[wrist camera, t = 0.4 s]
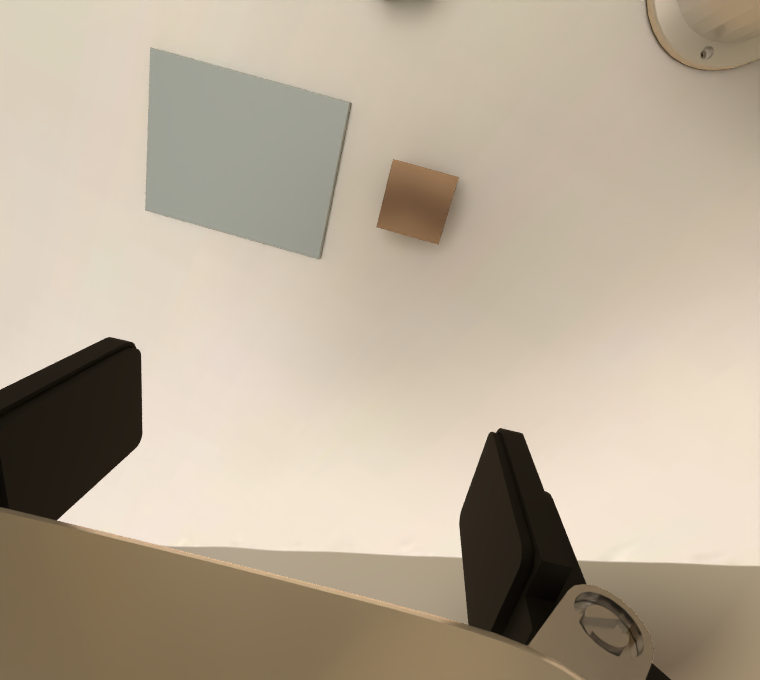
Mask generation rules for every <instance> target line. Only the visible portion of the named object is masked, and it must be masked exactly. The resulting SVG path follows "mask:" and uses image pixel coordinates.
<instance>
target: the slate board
mask: <svg viewBox="0 0 760 680" xmlns="http://www.w3.org/2000/svg"><path fill="white" fill-rule="evenodd" d="M350 108H351V103H350V102H347V101H343V100H340V99H336V98H332V97H329V96H325V95H321V94H318V93H314V92H310V91H307V90H303V89H300V88H296V87H292V86H289V85H285V84H281V83H278V82H274V81H271V80H267V79H263V78H260V77H256V76H252V75H249V74H245V73H242V72H238V71H234V70H231V69H227V68H223V67H220V66H216V65H213V64H209V63H205V62H202V61H198V60H194V59H191V58H187V57H183V56H180V55H176V54H173V53H169V52H165V51H162V50H158V49H154V48H151V47H150V77H149V109H148V141H147V174H146V206H145V210H146V211H150V212H153V213H157V214H160V215H164V216H167V217H171V218H174V219H178V220H182V221H185V222H189V223H192V224H196V225H199V226H203V227H206V228H210V229H213V230H217V231H221V232H224V233H228V234H231V235H235V236H238V237H242V238H245V239H249V240H252V241H256V242H260V243H263V244H267V245H270V246H274V247H277V248H281V249H284V250H288V251H291V252H295V253H299V254H302V255H306V256H309V257H313V258H316V259H320V258H321V254H322V248H323V243H324V238H325V233H326V228H327V223H328V218H329V213H330V208H331V203H332V198H333V193H334V188H335V183H336V178H337V173H338V168H339V163H340V158H341V153H342V148H343V143H344V138H345V133H346V128H347V123H348V118H349V113H350Z"/></svg>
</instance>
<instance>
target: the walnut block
mask: <svg viewBox="0 0 760 680" xmlns="http://www.w3.org/2000/svg"><path fill="white" fill-rule="evenodd" d="M458 179H459V177H456V176H452V175H449V174H445V173H441V172H438V171H434V170H431V169H427V168H423V167H420V166H416V165H412V164H409V163H405V162H402V161H398V160H394V159H393V162H392V166H391V170H390V174H389V178H388V182H387V186H386V190H385V194H384V198H383V202H382V206H381V211H380V215H379V219H378V223H377V227H378V228H382V229H385V230H389V231H392V232H396V233H400V234H403V235H407V236H410V237H414V238H417V239H421V240H425V241H428V242H432V243H435V244H439V241H440V237H441V234H442V231H443V228H444V224H445V221H446V218H447V215H448V211H449V208H450V205H451V202H452V198H453V195H454V192H455V189H456V185H457V182H458Z"/></svg>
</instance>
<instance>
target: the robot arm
mask: <svg viewBox="0 0 760 680" xmlns="http://www.w3.org/2000/svg"><path fill="white" fill-rule="evenodd" d="M647 8H648V16H649V19H650V23H651V26H652V29H653V32H654V34H655V35H656V37H657V39H658V41H659V43H660V44H661V46H662V47H663V48H664V49H665V50H666V51H667V52H668V53H669V54H670V55H671V56H672V57H674V58H675V59H677V60H678V61H680V62H681V63H683V64H685V65H688V66H691V67H694V68H697V69H705V70H722V69H731V68H735V67H738V66H741V65H744V64H748V63H750V62H753V61H755V60H758V59H760V0H647ZM701 53H703V58H701ZM141 438H142V384H141V353H140V351H139V350H138V349H136V346H135V344H134V343H132V342H129V341H125V340H120V339H116V338H111V337H108V338H105V339H103V340H101V341H99V342H97V343H95V344H93V345H91V346H89V347H87V348H85V349H83V350H81V351H79V352H77V353H75V354H72V355H70V356H68V357H66V358H64V359H62V360H60V361H58V362H56V363H54V364H52V365H50V366H48V367H46V368H44V369H42V370H40V371H38V372H36V373H34V374H31V375H29V376H27V377H25V378H23V379H21V380H19V381H17V382H15V383H13V384H11V385H9V386H7V387H5V388H3V389H1V390H0V680H671V679H669V678H668V677H667V676H666V675H665V674H664V673H663V672H661V671H660V670H659V669H658V668H657V667H656V666H655V665H654V664H652V661H653V656H654V646H653V642H652V639H651V636H650V634H649V632H648V630H647V628H646V627H645V625H644V623H643V622H642V621H641V620H640V618H639V617H638V616H637V615H636V613H635V612H634V611H633V610H632V609H631V608H630V607H629V606H627V605H626V604H625V603H624V602H623V601H622V600H621V599H619V598H618V597H616V596H615V595H613V594H612V593H610V592H608V591H606V590H604V589H602V588H599V587H596V586H593V585H587V584H586V582H585V579H584V577H583V574H582V572H581V569H580V567H579V565H578V562H577V559H576V557H575V554H574V552H573V549H572V546H571V544H570V541H569V539H568V536H567V534H566V531H565V529H564V526H563V524H562V521H561V519H560V516H559V513H558V511H557V508H556V506H555V503H554V501H553V498H552V497H551V495H550V494H549V493H548V492H545V491H544V489H543V486H542V483H541V481H540V478H539V475H538V473H537V470H536V467H535V465H534V462H533V459H532V457H531V454H530V451H529V449H528V446H527V444H526V441H525V438H524V436H523V434H522V433H519V432H514V431H510V430H506V429H502V428H500V429H498V431H497V432H496V433H494V432H490V433H489V435H488V437H487V440H486V443H485V446H484V449H483V451H482V454H481V457H480V460H479V463H478V465H477V468H476V471H475V474H474V477H473V479H472V482H471V485H470V488H469V491H468V493H467V496H466V499H465V502H464V504H463V507H462V510H461V514H460V522H459V526H460V537H461V548H462V559H463V569H464V580H465V591H466V601H467V613H468V623H469V625H466V624H463V623H460V622H457V621H453V620H450V619H446V618H443V617H439V616H436V615H432V614H429V613H425V612H421V611H417V610H413V609H409V608H405V607H402V606H398V605H394V604H391V603H387V602H383V601H380V600H376V599H371V598H368V597H364V596H360V595H356V594H352V593H347V592H344V591H340V590H336V589H332V588H328V587H324V586H320V585H316V584H312V583H308V582H304V581H300V580H296V579H293V578H289V577H285V576H281V575H277V574H273V573H268V572H265V571H261V570H257V569H253V568H248V567H244V566H241V565H237V564H233V563H229V562H225V561H221V560H216V559H212V558H208V557H204V556H200V555H196V554H192V553H188V552H184V551H180V550H176V549H172V548H168V547H164V546H160V545H156V544H151V543H147V542H143V541H139V540H135V539H131V538H127V537H123V536H119V535H115V534H111V533H106V532H102V531H98V530H94V529H90V528H86V527H81V526H77V525H73V524H69V523H65V522H61V521H57V520H58V519H59V518H60V517H61V516H62V515H63V514H64V513H65V512H66V511H67V510H69V509H70V508H71V507H72V506H73V505H74V504H75V503H76V502H77V501H78V500H79V499H81V498H82V497H83V496H84V495H85V494H86V493H87V492H88V491H89V490H90V489H92V488H93V487H94V486H95V485H96V484H97V483H98V482H99V481H100V480H101V479H102V478H104V477H105V476H106V475H107V474H108V473H109V472H110V471H111V470H112V469H113V468H114V467H116V466H117V465H118V464H119V463H120V462H121V461H122V460H123V459H124V458H125V457H127V456H128V455H129V454H130V453H131V452H132V451H133V450H134V449H135V448H136V447H137V446H138V444H139V443H140V441H141Z"/></svg>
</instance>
